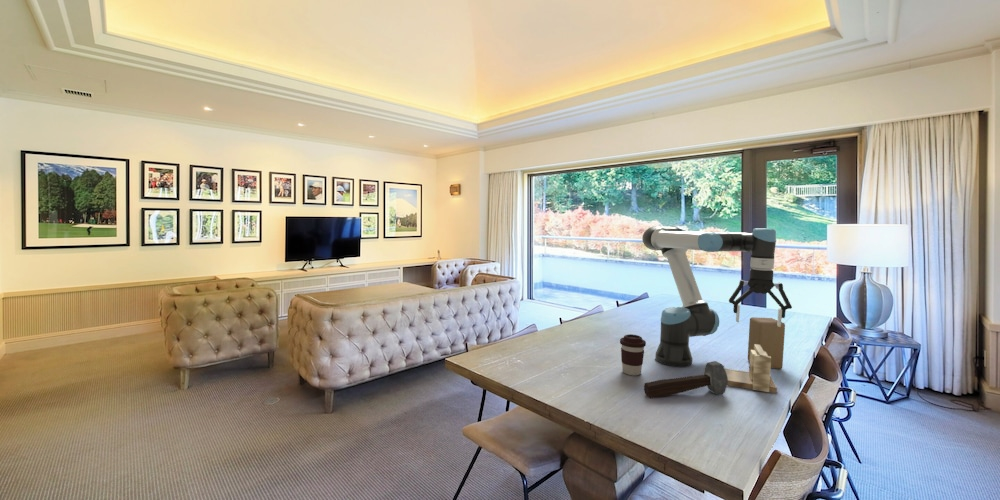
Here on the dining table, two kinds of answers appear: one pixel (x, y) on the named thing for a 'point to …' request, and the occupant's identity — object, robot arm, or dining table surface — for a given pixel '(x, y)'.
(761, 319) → the wooden block
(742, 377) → the board
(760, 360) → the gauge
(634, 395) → the dining table surface
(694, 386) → the hammer
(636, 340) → the coffee cup
